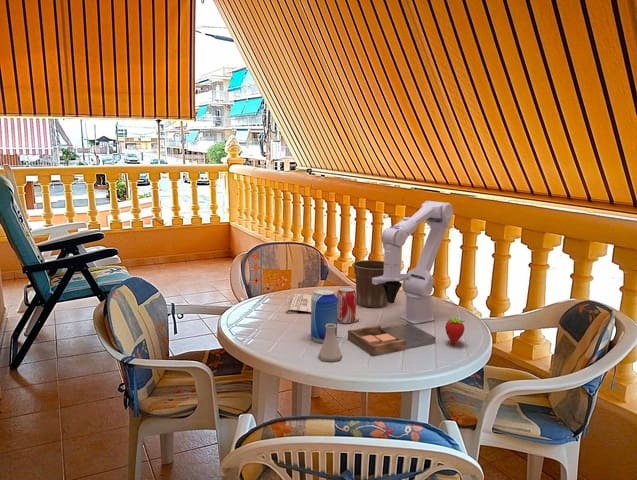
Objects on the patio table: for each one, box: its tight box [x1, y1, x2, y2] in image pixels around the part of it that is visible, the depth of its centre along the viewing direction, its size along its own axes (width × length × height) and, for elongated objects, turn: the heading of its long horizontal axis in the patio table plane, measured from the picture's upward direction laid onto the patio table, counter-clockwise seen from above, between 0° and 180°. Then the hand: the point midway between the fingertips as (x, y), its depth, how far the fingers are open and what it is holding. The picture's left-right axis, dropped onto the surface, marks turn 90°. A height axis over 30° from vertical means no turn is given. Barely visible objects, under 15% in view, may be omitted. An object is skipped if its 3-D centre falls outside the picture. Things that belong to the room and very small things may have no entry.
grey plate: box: [381, 323, 437, 350], centre depth 167 cm, size 12×14×2 cm
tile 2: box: [374, 334, 396, 344], centre depth 163 cm, size 5×5×2 cm
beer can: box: [310, 288, 338, 344], centre depth 165 cm, size 8×8×16 cm
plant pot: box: [352, 259, 388, 309], centre depth 203 cm, size 16×16×16 cm
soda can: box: [336, 286, 357, 324], centre depth 182 cm, size 7×7×12 cm
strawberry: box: [445, 314, 466, 345], centre depth 163 cm, size 6×8×10 cm
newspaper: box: [285, 293, 313, 314], centre depth 201 cm, size 23×12×2 cm, turn 177°
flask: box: [317, 324, 343, 363], centre depth 151 cm, size 7×7×10 cm
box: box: [347, 324, 407, 357], centre depth 162 cm, size 12×15×3 cm
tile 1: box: [362, 335, 380, 345], centre depth 162 cm, size 5×5×2 cm
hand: (390, 302), depth 175 cm, fingers closed
